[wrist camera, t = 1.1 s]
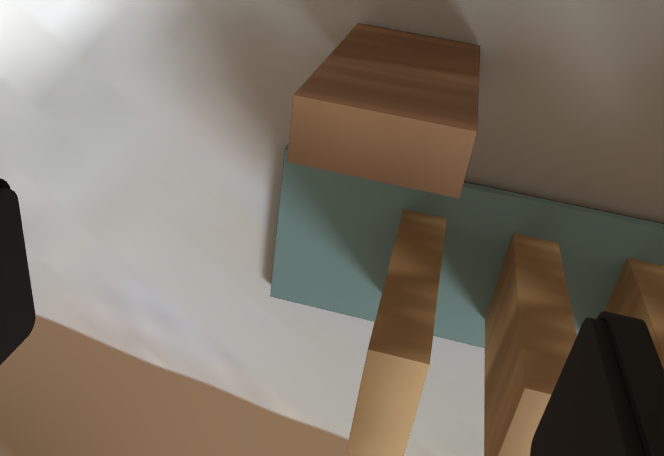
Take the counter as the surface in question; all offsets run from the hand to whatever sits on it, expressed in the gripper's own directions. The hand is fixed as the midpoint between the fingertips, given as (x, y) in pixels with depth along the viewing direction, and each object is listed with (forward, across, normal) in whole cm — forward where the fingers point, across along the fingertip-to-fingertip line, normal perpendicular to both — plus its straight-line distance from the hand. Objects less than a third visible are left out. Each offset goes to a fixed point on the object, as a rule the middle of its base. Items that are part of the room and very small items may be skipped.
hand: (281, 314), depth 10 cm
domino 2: (+18, -3, +9) cm, 20 cm away
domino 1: (+18, -1, 0) cm, 18 cm away
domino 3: (+17, -8, +9) cm, 21 cm away
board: (+18, -8, +9) cm, 22 cm away
